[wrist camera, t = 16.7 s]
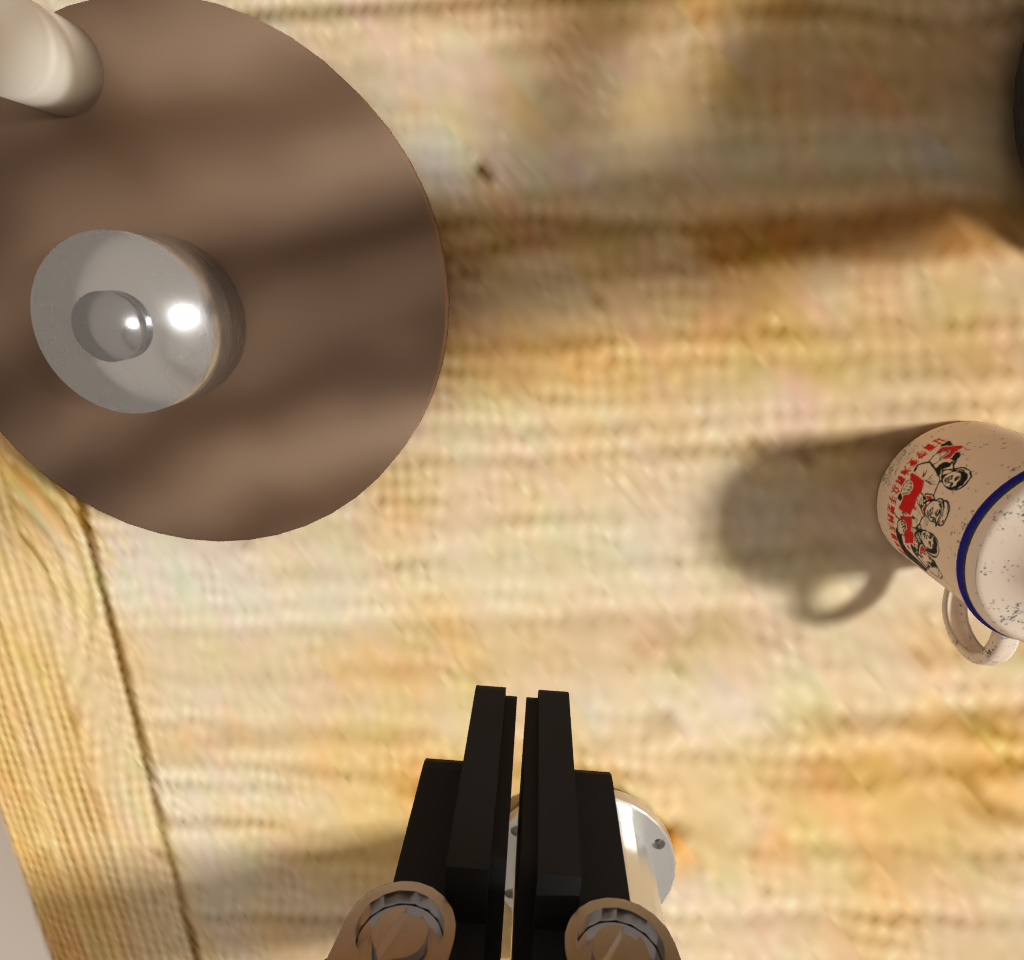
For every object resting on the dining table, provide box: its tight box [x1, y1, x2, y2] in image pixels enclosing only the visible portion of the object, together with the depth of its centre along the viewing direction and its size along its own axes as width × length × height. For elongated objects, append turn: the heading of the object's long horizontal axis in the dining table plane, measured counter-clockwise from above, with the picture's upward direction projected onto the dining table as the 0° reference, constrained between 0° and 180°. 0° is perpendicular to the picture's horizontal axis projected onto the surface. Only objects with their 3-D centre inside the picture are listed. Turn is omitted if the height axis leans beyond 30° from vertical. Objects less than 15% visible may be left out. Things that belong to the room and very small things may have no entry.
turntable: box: [0, 0, 449, 541], centre depth 32 cm, size 26×26×6 cm
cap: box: [30, 229, 246, 414], centre depth 31 cm, size 8×8×5 cm
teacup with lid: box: [877, 421, 1024, 666], centre depth 33 cm, size 12×9×12 cm
